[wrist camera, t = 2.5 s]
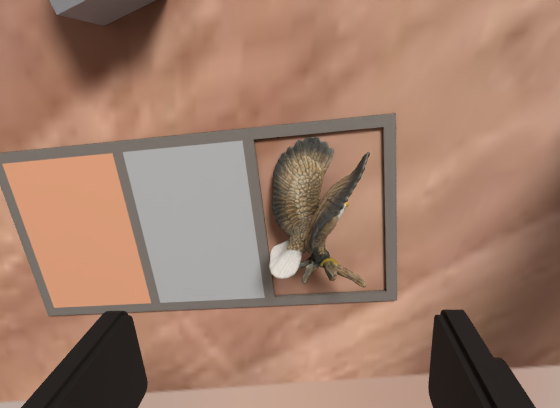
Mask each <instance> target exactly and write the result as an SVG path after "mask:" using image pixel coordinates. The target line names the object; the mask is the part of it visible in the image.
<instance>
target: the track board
mask: <svg viewBox="0 0 560 408" xmlns="http://www.w3.org/2000/svg"><path fill="white" fill-rule="evenodd" d="M377 127H383V155H384V210H385V266H386V290H376V291H356V292H335V293H314V294H293V295H275V294H274V286H273V279H272V274H271V271H270V268H269V263H270V256H269V248H268V241H267V233H266V226H265V218H264V210H263V203H262V195H261V188H260V180H259V172H258V165H257V157H256V150H255V142H254V139H264V138H274V137H284V136H295V135H305V134H315V133H326V132H336V131H346V130H357V129H367V128H377ZM0 186H1V189H2V191H3V194H4V197H5V199H6V202H7V205H8V207H9V210H10V213H11V216H12V218H13V221H14V224H15V226H16V229H17V232H18V235H19V237H20V240H21V243H22V245H23V248H24V251H25V253H26V256H27V259H28V262H29V264H30V267H31V270H32V272H33V275H34V278H35V280H36V283H37V286H38V289H39V291H40V294H41V297H42V299H43V302H44V305H45V307H46V310H47V313H48V316H56V315H79V314H101V313H105V312H106V311H126V312H146V311H168V310H191V309H213V308H236V307H258V306H281V305H303V304H326V303H348V302H370V301H393V300H397V217H396V114H395V113H392V114H382V115H372V116H362V117H352V118H342V119H332V120H322V121H312V122H302V123H292V124H282V125H272V126H262V127H253V128H243V129H233V130H223V131H213V132H203V133H193V134H183V135H173V136H163V137H153V138H143V139H133V140H123V141H113V142H103V143H93V144H83V145H74V146H64V147H54V148H44V149H34V150H24V151H14V152H4V153H0Z"/></svg>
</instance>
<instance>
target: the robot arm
mask: <svg viewBox="0 0 560 408" xmlns="http://www.w3.org/2000/svg"><path fill="white" fill-rule="evenodd" d="M146 390H147V377H146V373H145V369H144V364H143V360H142V356H141V352H140V347H139V343H138V339H137V335H136V330H135V326H134V322H133V318H132V317H131V316H130V315H128V314H127V312H126V311H106V312H105V313H103V314H102V316H101V317H100V318H99V319H98V320H97V321H96V323H95V324H94V325H93V326H92V327H91V328H90V329H89V331H88V332H87V333H86V334H85V335H84V336H83V337H82V339H81V340H80V341H79V342H78V343H77V344H76V345H75V347H74V348H73V349H72V350H71V351H70V352H69V353H68V355H67V356H66V357H65V358H64V359H63V360H62V361H61V363H60V364H59V365H58V366H57V367H56V368H55V369H54V371H53V372H52V373H51V374H50V375H49V376H48V377H47V379H46V380H45V381H44V382H43V383H42V384H41V385H40V387H39V388H38V389H37V390H36V391H35V392H34V393H33V395H32V396H31V397H30V398H29V399H28V400H27V401H26V403H25V404H24V405H23V406H22V407H21V408H138V406H139V405H140V403H141V401H142V399H143V397H144V395H145V393H146ZM429 396H430V399H431V402H432V405H433V408H536V407H534V404H533V403H532V401H531V400H530V398H529V397H528V395H527V394H526V392H525V391H524V389H523V388H522V386H521V385H520V383H519V382H518V380H517V379H516V377H515V376H514V374H513V373H512V371H511V369H510V368H509V366H508V365H507V364H506V362H505V361H504V360H503V359H501V358H494V357H493V356H492V354H491V353H490V351H489V349H488V348H487V346H486V345H485V343H484V341H483V340H482V338H481V337H480V335H479V334H478V332H477V330H476V329H475V327H474V326H473V324H472V322H471V321H470V319H469V318H468V316H467V314H466V313H465V312H464V310H442V311H441V314H440V315H435V317H434V327H433V338H432V350H431V362H430V374H429Z"/></svg>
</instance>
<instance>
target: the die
mask: <svg viewBox="0 0 560 408" xmlns="http://www.w3.org/2000/svg"><path fill="white" fill-rule="evenodd" d="M49 1H50V3H51V5H52V7H53V9H54V11H55V13H56V14H57V15H59V16H63V17H68V18H72V19H77V20H81V21H85V22H90V23H94V24H99V25H103V26H105V25H107V24H109V23H111V22H113V21H115V20H117V19H119V18H121V17H123V16H125V15H128V14H130V13H132V12H134V11H136V10H138V9H140V8H142V7H144V6H146V5H148V4H150V3H152V2H154V1H156V0H49Z"/></svg>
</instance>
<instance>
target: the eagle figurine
mask: <svg viewBox="0 0 560 408" xmlns="http://www.w3.org/2000/svg"><path fill="white" fill-rule="evenodd" d="M333 152H334V150H333V149H332V148H329V147H328V143H327V142H321V139H320V138H319V137H315V138H312V137H311V136H308V137H306V138H305V140H303V141H302V140H298V141H297V142H296V144H295V146H294V148H292V147H289V148H288V149H287V152H286V153H285V152H284V153H283V154H281V157H280V158H279V160H278V163H277V164H276V166H275V171H274V174H273V176H274V180H273V188H274V190H273V201H274V202H273V208H272V209H273V214H274V216H275V220H276V222H277V223H278V225H279V226H280V227H282V229H283V230H284V231H286V234H287V235H288V236H290V238H289V240H287V241H285V242H283V243H281V244H278V245H276V246H274V247H273V249H272V251H271V253H270V263H269V268H270V271H271V274H272V275H273V276H275V277H276V278H281V279H285V278H290V277H291V276H293V275H295V273H296V272H297V270H298V268H303V267H305V266H306V270H305V273H304V275H303V278H302V282H303V283H304V284H305V283H306V282H307V279H308V277H309V276H310V274H311V273H312V272H313V271H314V270H316V269H318V267H319V266H320V267H323V268H324V269H325V272H326V274H327V276H328V278H329V280H330V281H334V280H335V279H336V277H337V274H338V275H340V276H343V277H346V278H348V279H350V280H352V281H354V282H355V283H356V284H358V285H359V286H361V287H366V283H365V282H364V280H363V279H362V278H361V277H360V276H359V275H357V274H354V273H353V272H351V271H350V270H348V269H346V268H343V267H342V266H341V265H340V264H339V263H338V262H337V261H335V260H334V259H333V258H332V257H330V255H329V252H328V251H327V250H326V249H325V240H326V237H327V235H328V234H329V233H330V232H331V231H332V230H333V229H334V227H335V226H336V223H337V222H338V220H339V218H340V217H341V215H342V214H343V212H344V210H345V207H347V206H348V203H347V201H348V198H349V196H350V195H351V194H352V192H353V190H354V188H355V187H356V185H357V183H358V181H359V180H360V178H361V176H362V174H363V171H364V169H365V164H366V162H367V159H368V157H369V155H370V153H369V152H367V154H365V155H364V156H363V158H362V160H361V161H360V163H359V164H358V166H357V167H356V169H355V170H354V171H353V172H352V173H351V174H350V175H348V176H346V177H345V178H343V179H342V180H341V181H339V182H337V183H336V184H335V185H334V186H332V187H331V188H330V190H329V191H328V193H327V194H326V195H325V197H324V198H323V200H322V201H321V203H320V191H321V186H322V181H323V176H324V174H325V172H326V170H327V168H328V166H329V163H330V161H331V159H332V156H333ZM306 250H308V252H309V253H310V254H311V256H310V257H309V258H308V259H307V260H305V261H304V262H302V263H301V264H300V262H301V258H302V254H303V253H304V252H305V251H306Z"/></svg>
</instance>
